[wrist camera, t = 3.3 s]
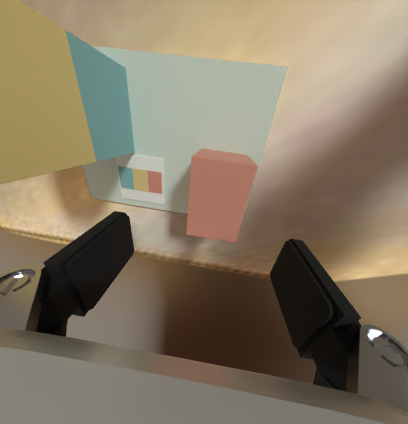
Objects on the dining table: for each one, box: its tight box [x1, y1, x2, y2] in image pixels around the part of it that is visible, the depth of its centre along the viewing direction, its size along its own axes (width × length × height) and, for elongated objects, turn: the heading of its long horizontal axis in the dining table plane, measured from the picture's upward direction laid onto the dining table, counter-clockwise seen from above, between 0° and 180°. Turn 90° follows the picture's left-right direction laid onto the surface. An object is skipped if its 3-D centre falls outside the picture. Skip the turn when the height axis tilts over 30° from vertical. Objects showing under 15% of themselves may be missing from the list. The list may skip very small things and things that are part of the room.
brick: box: [186, 148, 258, 243], centre depth 15 cm, size 8×5×6 cm, turn 173°
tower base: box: [0, 0, 135, 184], centre depth 11 cm, size 8×5×12 cm, turn 173°
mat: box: [82, 46, 287, 221], centre depth 17 cm, size 16×22×1 cm
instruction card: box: [115, 154, 164, 205], centre depth 19 cm, size 6×6×1 cm
